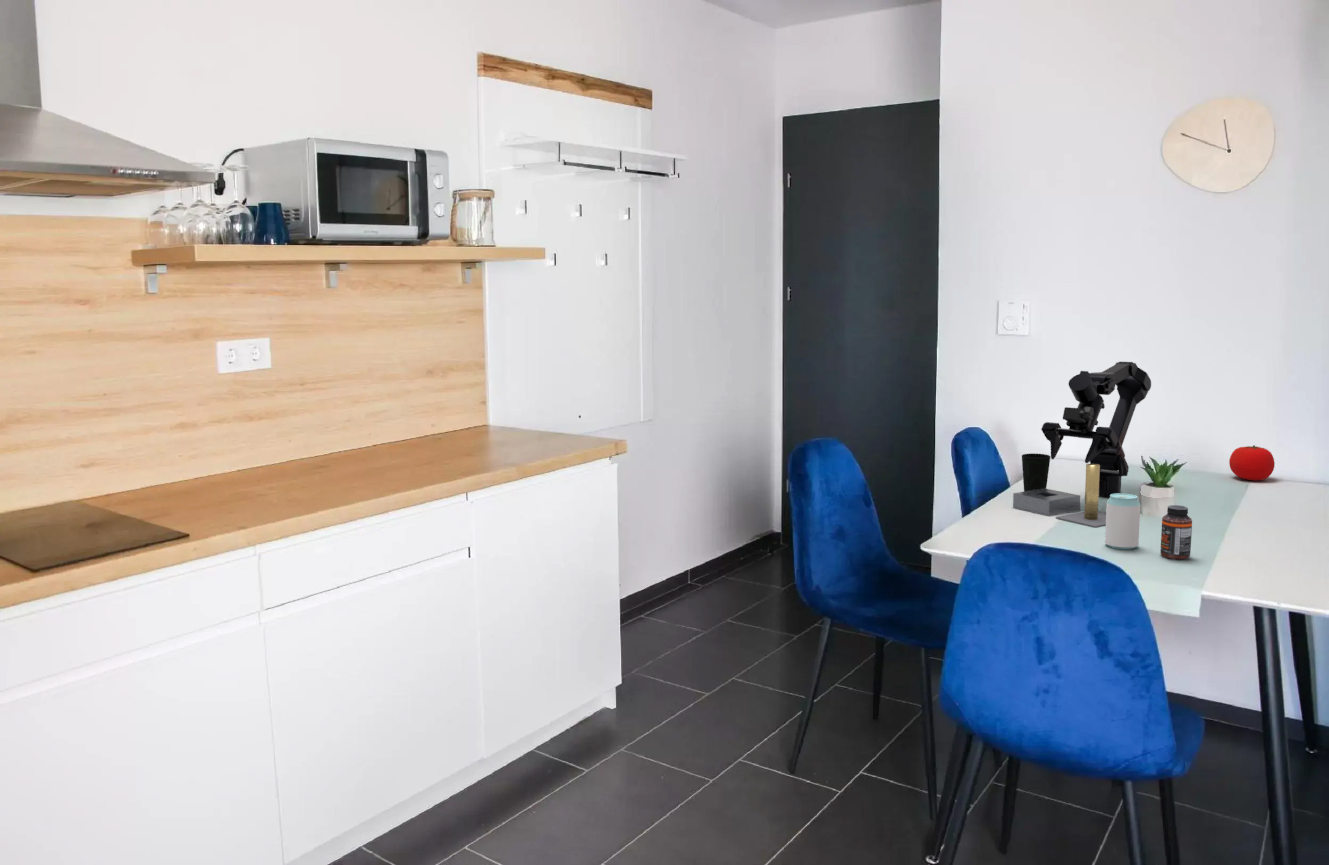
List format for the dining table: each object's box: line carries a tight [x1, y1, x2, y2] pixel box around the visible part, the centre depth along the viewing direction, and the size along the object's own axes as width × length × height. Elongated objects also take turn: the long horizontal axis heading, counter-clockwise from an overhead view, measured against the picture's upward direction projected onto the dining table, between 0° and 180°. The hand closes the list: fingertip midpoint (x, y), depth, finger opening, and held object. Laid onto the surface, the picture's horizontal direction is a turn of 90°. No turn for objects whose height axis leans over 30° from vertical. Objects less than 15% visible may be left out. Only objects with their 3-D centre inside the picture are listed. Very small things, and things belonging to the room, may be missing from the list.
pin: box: [1083, 463, 1100, 520], centre depth 255 cm, size 3×3×14 cm
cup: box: [1021, 453, 1051, 492], centre depth 284 cm, size 8×8×12 cm
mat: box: [1055, 511, 1106, 529], centre depth 256 cm, size 14×12×1 cm
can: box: [1104, 492, 1141, 550], centre depth 229 cm, size 7×7×12 cm
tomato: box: [1228, 445, 1276, 482], centre depth 301 cm, size 12×12×10 cm
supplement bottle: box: [1160, 504, 1193, 561], centre depth 220 cm, size 6×6×11 cm
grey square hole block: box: [1012, 487, 1081, 517], centre depth 269 cm, size 12×12×4 cm
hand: (1068, 460), depth 264 cm, fingers open, 9 cm apart
